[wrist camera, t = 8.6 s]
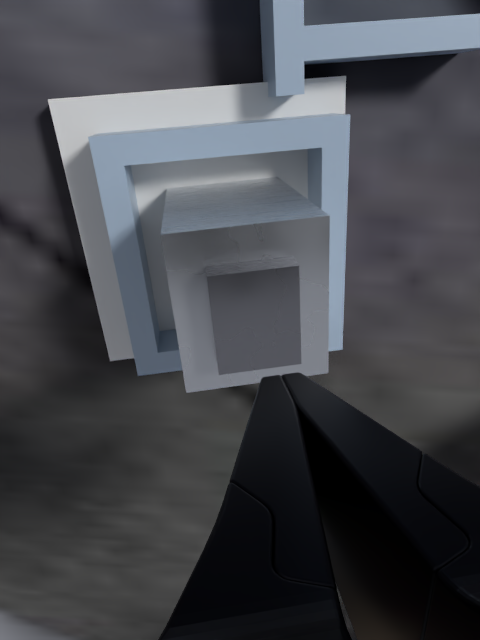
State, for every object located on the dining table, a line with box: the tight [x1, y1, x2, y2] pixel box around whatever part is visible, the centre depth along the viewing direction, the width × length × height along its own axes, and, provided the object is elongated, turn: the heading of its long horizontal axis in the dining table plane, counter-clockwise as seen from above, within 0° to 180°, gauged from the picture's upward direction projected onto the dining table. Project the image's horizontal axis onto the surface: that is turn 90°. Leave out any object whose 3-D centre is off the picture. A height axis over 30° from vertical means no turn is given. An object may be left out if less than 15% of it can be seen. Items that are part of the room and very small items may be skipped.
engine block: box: [160, 177, 330, 393], centre depth 16 cm, size 5×4×8 cm
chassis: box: [48, 0, 480, 376], centre depth 16 cm, size 22×16×3 cm
